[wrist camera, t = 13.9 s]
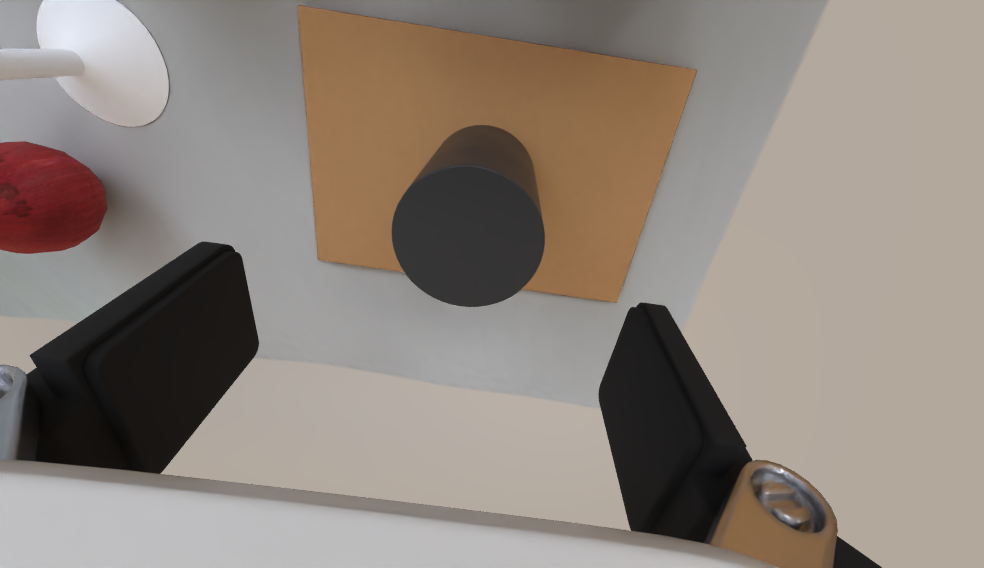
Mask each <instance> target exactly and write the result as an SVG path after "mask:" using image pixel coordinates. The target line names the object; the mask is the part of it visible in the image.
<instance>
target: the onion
mask: <svg viewBox="0 0 984 568" xmlns="http://www.w3.org/2000/svg"><path fill="white" fill-rule="evenodd" d="M106 211H107V201H106V192H105V190H104V188H103V186H102V184H101V182H100V180H99V179H98V178H97V176H96V175H95V174H94V173H93V172H92V171H91V170H90V169H89V168H88V167H86V166H85V165H83V164H82V163H80V162H79V161H77V160H75V159H74V158H72V157H71V156H69V155H68V154H66V153H65V152H62V151H59V150H55V149H52V148H48V147H45V146H41V145H37V144H33V143H29V142H4V143H0V250H5V251H9V252H14V253H25V254H32V253H42V252H53V251H62V250H65V249H69V248H72V247H75V246H77V245H78V244H80V243H81V242H83V241H84V240H86V239H87V238H89V237H90V236H91V235H93V234H94V233H95V232H97V231H98V230H99V228H100V225H101V222H102V220H103V217H104V215H105V213H106Z"/></svg>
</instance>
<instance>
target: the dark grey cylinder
mask: <svg viewBox="0 0 984 568" xmlns="http://www.w3.org/2000/svg"><path fill="white" fill-rule="evenodd" d="M391 232H392V243H393V248H394V252H395V255H396V258H397V260H398V262H399V264H400V266H401V268H402V269H403V271H404V272H405V274H406V275H407V276H408V277H409V279H410V280H411V281H412V282H413V283H414V284H415V285H416V286H417V287H418V288H420V289H421V290H422V291H424V292H425V293H427V294H428V295H430V296H432V297H433V298H436V299H438V300H440V301H442V302H446V303H449V304H452V305H457V306H466V307H479V306H487V305H491V304H495V303H498V302H500V301H503V300H505V299H507V298H509V297H511V296H513V295H514V294H516V293H517V292H518V291H520V290H521V289H522V288H523V287H524V286H525V285H526V284H527V283H528V282H529V281H530V280H531V279H532V277H533V276H534V274H535V273H536V271H537V269H538V267H539V265H540V263H541V260H542V257H543V253H544V247H545V231H544V224H543V218H542V212H541V207H540V201H539V195H538V189H537V183H536V178H535V172H534V167H533V163H532V160H531V157H530V155H529V153H528V151H527V150H526V148H525V147H524V146H523V144H522V143H521V142H520V141H519V140H518V139H517V138H516V137H515V136H513V135H512V134H510V133H509V132H507V131H505V130H503V129H501V128H498V127H494V126H490V125H474V126H469V127H466V128H463V129H460V130H459V131H457V132H455V133H453V134H452V135H451V136H449V137H448V138H447V139H446V140H445V141H444V142H443V143H442V145H441V146H440V147H439V148H438V150H437V151H436V152H435V154H434V155H433V156H432V158H431V159H430V160H429V162H428V163H427V164H426V165H425V167H424V168H423V169H422V171H421V172H420V173H419V175H418V176H417V177H416V179H415V180H414V181H413V183H412V184H411V185H410V186H409V188H408V189H407V190H406V192H405V193H404V194H403V196H402V198H401V199H400V201H399V203H398V205H397V207H396V210H395V212H394V216H393V221H392V230H391Z"/></svg>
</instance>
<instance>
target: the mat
mask: <svg viewBox="0 0 984 568" xmlns="http://www.w3.org/2000/svg"><path fill="white" fill-rule="evenodd" d="M298 16H299V29H300V41H301V54H302V66H303V79H304V91H305V103H306V116H307V128H308V141H309V153H310V166H311V178H312V190H313V203H314V215H315V228H316V240H317V253H318V260H323V261H330V262H337V263H344V264H351V265H358V266H365V267H372V268H379V269H386V270H393V271H399V272H404V271H403V269H402V268H401V266H400V264H399V262H398V260H397V258H396V255H395V252H394V248H393V243H392V232H391V230H392V221H393V216H394V212H395V210H396V207H397V205H398V203H399V201H400V199H401V198H402V196H403V194H404V193H405V192H406V190H407V189H408V188H409V186H410V185H411V184H412V183H413V181H414V180H415V179H416V177H417V176H418V175H419V173H420V172H421V171H422V169H423V168H424V167H425V165H426V164H427V163H428V162H429V160H430V159H431V158H432V156H433V155H434V154H435V152H436V151H437V150H438V148H439V147H440V146H441V145H442V143H443V142H444V141H445V140H446V139H447V138H448V137H449V136H451V135H452V134H453V133H455V132H457V131H459V130H460V129H463V128H466V127H469V126H474V125H490V126H494V127H498V128H501V129H503V130H505V131H507V132H509V133H510V134H512V135H513V136H515V137H516V138H517V139H518V140H519V141H520V142H521V143H522V144H523V146H524V147H525V148H526V150H527V151H528V153H529V155H530V157H531V160H532V163H533V167H534V172H535V178H536V183H537V189H538V195H539V201H540V207H541V212H542V218H543V224H544V231H545V247H544V253H543V257H542V260H541V263H540V265H539V267H538V269H537V271H536V273H535V274H534V276H533V277H532V279H531V280H530V281H529V282H528V283H527V284H526V285H525V286H524V287H523V288H522V289H524V290H531V291H538V292H545V293H552V294H559V295H566V296H573V297H580V298H587V299H594V300H601V301H608V302H615V303H617V300H618V297H619V294H620V292H621V289H622V286H623V283H624V280H625V277H626V274H627V271H628V268H629V266H630V263H631V260H632V257H633V254H634V251H635V248H636V245H637V242H638V240H639V237H640V234H641V231H642V228H643V225H644V222H645V219H646V216H647V214H648V211H649V208H650V205H651V202H652V199H653V196H654V193H655V190H656V187H657V185H658V182H659V179H660V176H661V173H662V170H663V167H664V164H665V161H666V159H667V156H668V153H669V150H670V147H671V144H672V141H673V138H674V135H675V133H676V130H677V127H678V124H679V121H680V118H681V115H682V112H683V109H684V106H685V104H686V101H687V98H688V95H689V92H690V89H691V86H692V83H693V80H694V78H695V75H696V72H697V70H694V69H688V68H682V67H676V66H670V65H664V64H657V63H651V62H645V61H639V60H633V59H627V58H620V57H614V56H608V55H602V54H596V53H590V52H583V51H577V50H571V49H565V48H559V47H553V46H546V45H540V44H534V43H528V42H522V41H516V40H509V39H503V38H497V37H491V36H485V35H478V34H472V33H466V32H460V31H454V30H448V29H441V28H435V27H429V26H423V25H417V24H411V23H404V22H398V21H392V20H386V19H380V18H374V17H367V16H361V15H355V14H349V13H343V12H337V11H330V10H324V9H318V8H312V7H306V6H300V5H299V6H298Z"/></svg>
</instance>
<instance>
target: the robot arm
mask: <svg viewBox="0 0 984 568" xmlns="http://www.w3.org/2000/svg"><path fill="white" fill-rule="evenodd" d="M258 346H259V340H258V335H257V330H256V325H255V320H254V315H253V310H252V305H251V300H250V295H249V290H248V285H247V280H246V275H245V270H244V265H243V260H242V257H241V255H240V254H239V253H238V252H235V250H234V248H233V247H232V246H230V245H226V244H218V243H211V242H200V243H198V244H197V245H195V246H194V247H192V248H191V249H189V250H188V251H186V252H185V253H183V254H182V255H180V256H179V257H177V258H176V259H174V260H172V261H171V262H169V263H168V264H166V265H165V266H163V267H162V268H160V269H159V270H157V271H156V272H154V273H153V274H151V275H150V276H148V277H147V278H145V279H144V280H142V281H141V282H139V283H138V284H136V285H135V286H133V287H132V288H130V289H129V290H127V291H126V292H124V293H123V294H121V295H120V296H118V297H117V298H115V299H114V300H112V301H111V302H109V303H108V304H106V305H105V306H103V307H102V308H100V309H99V310H97V311H96V312H94V313H93V314H91V315H90V316H88V317H87V318H85V319H84V320H82V321H81V322H79V323H78V324H76V325H75V326H73V327H72V328H70V329H69V330H67V331H66V332H64V333H63V334H61V335H60V336H58V337H56V338H55V339H53V340H52V341H50V342H49V343H47V344H46V345H44V346H43V347H42V348H40V349H38V350H37V351H35V352H34V353H32V354H31V355H30V357H31V358H32V360H33V362H34V364H35V365H36V367H37V368H35V369H34V370H33V371H31V372H30V373H28V374H27V375H26V373H25V372H23V371H22V370H21V369H19V368H18V367H14V366H9V365H0V568H882V567H880V566H879V565H877V564H876V563H875V562H873V561H872V560H870V559H869V558H868V557H866V556H865V555H863V554H862V553H860V552H859V551H858V550H856V549H855V548H853V547H852V546H851V545H849V544H848V543H846V542H845V541H844V540H842V539H841V538H839V537H838V536H837V532H838V529H837V520H836V517H835V515H834V513H833V511H832V508H831V506H830V505H829V504H828V502H827V501H826V500H825V498H824V497H823V496H822V494H821V493H820V492H819V491H818V490H817V489H816V488H815V487H814V486H812V485H811V484H810V483H809V482H808V481H807V480H806V479H804V478H803V477H801V476H800V475H798V474H797V473H795V472H794V471H792V470H790V469H788V468H786V467H784V466H782V465H780V464H777V463H774V462H770V461H766V460H755V461H752V458H751V457H750V455H749V453H748V451H747V450H746V445H745V443H744V441H743V439H742V438H741V436H740V434H739V432H738V431H737V429H736V427H735V425H734V424H733V422H732V420H731V419H730V417H729V415H728V413H727V411H726V410H725V408H724V406H723V405H722V403H721V401H720V399H719V398H718V396H717V394H716V392H715V391H714V389H713V387H712V385H711V384H710V382H709V380H708V379H707V377H706V375H705V373H704V371H703V370H702V368H701V367H700V365H699V363H698V361H697V359H696V358H695V356H694V354H693V352H692V351H691V349H690V347H689V345H688V344H687V342H686V340H685V338H684V337H683V335H682V333H681V331H680V330H679V328H678V326H677V324H676V323H675V321H674V319H673V318H672V316H671V314H670V312H669V311H668V309H667V308H666V306H663V305H656V304H649V303H642V302H641V303H639V304H638V305H637V307H636V308H635V307H631V308H630V309H629V311H628V313H627V316H626V319H625V321H624V324H623V327H622V329H621V332H620V334H619V337H618V340H617V342H616V345H615V348H614V350H613V353H612V355H611V358H610V361H609V363H608V366H607V369H606V371H605V374H604V376H603V379H602V382H601V384H600V388H599V402H600V406H601V410H602V415H603V419H604V423H605V427H606V431H607V435H608V439H609V444H610V447H611V452H612V456H613V460H614V464H615V468H616V472H617V477H618V480H619V485H620V489H621V493H622V497H623V501H624V506H625V510H626V514H627V518H628V522H629V525H630V529H631V531H627V530H621V529H614V528H607V527H599V526H593V525H585V524H578V523H571V522H562V521H554V520H546V519H538V518H530V517H522V516H513V515H506V514H497V513H489V512H481V511H473V510H465V509H457V508H448V507H441V506H432V505H424V504H415V503H407V502H399V501H390V500H382V499H373V498H365V497H357V496H347V495H339V494H330V493H322V492H313V491H305V490H297V489H288V488H280V487H271V486H262V485H253V484H244V483H236V482H226V481H218V480H209V479H199V478H191V477H181V476H173V475H164V474H160V473H161V472H162V471H163V470H164V469H165V468H166V466H167V465H168V464H169V463H170V461H171V460H172V459H173V458H174V456H175V455H176V454H177V453H178V451H179V450H180V449H181V448H182V446H183V445H184V444H185V442H186V441H187V440H188V439H189V438H190V436H191V435H192V434H193V433H194V431H195V430H196V429H197V428H198V426H199V425H200V424H201V423H202V421H203V420H204V419H205V418H206V416H207V415H208V414H209V413H210V411H211V410H212V409H213V408H214V406H215V405H216V404H217V403H218V401H219V400H220V399H221V398H222V396H223V395H224V394H225V392H226V391H227V390H228V389H229V387H230V386H231V385H232V384H233V383H234V381H235V380H236V379H237V378H238V376H239V375H240V374H241V373H242V371H243V370H244V369H245V368H246V366H247V365H248V364H249V363H250V361H251V360H252V359H253V358H254V356H255V355H256V353H257V351H258Z"/></svg>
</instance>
